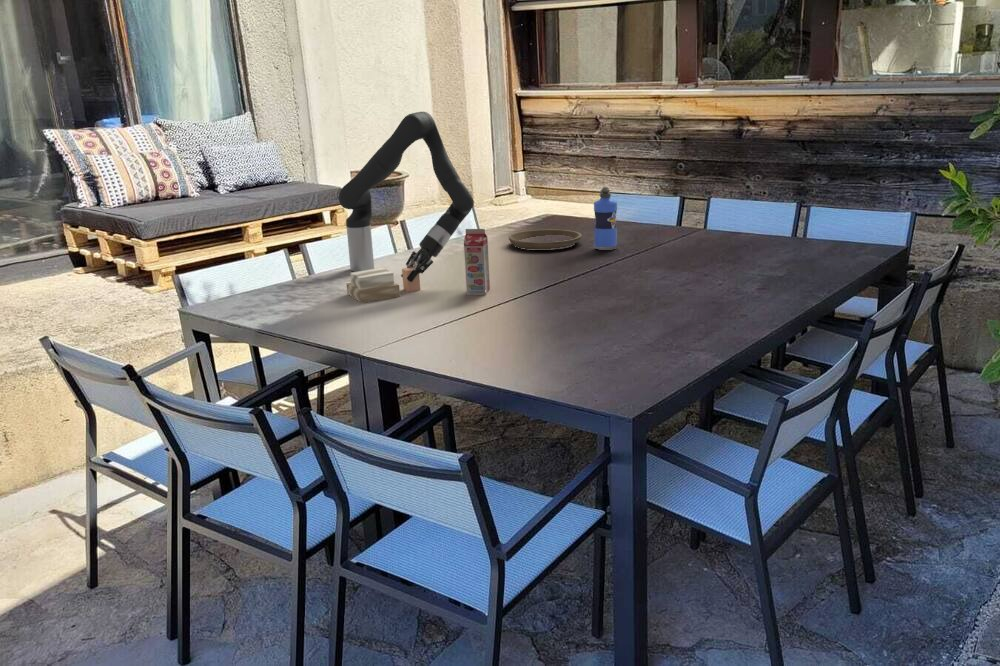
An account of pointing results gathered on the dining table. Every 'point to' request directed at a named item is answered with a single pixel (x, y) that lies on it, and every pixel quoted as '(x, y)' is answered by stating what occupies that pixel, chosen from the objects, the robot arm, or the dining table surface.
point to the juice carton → (476, 262)
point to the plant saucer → (543, 245)
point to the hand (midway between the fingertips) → (406, 279)
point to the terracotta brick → (407, 284)
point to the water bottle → (605, 220)
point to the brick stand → (372, 285)
